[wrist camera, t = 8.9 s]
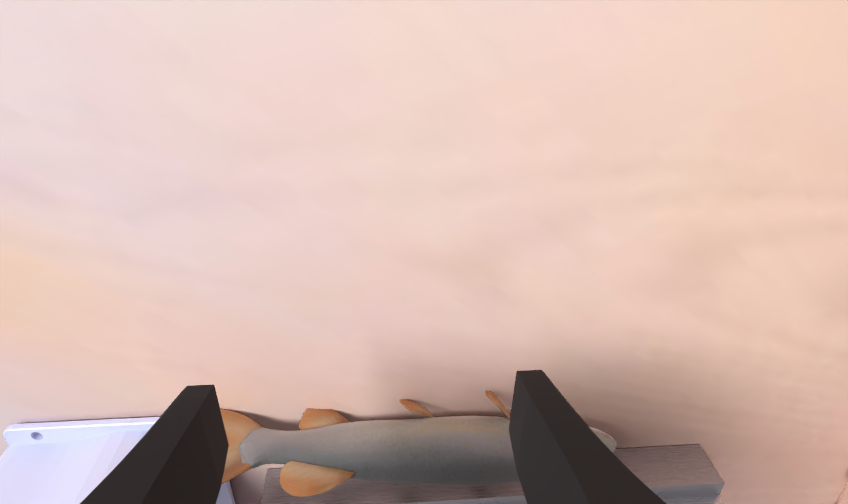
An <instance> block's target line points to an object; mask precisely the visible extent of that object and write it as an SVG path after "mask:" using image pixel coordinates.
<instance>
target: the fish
mask: <svg viewBox="0 0 848 504" xmlns="http://www.w3.org/2000/svg"><path fill="white" fill-rule="evenodd" d="M485 393H486V395H487V396H488V397H489V398H490V399H491V400H492V401H493V402H494V403H495V404H496V405H497V406H498V407H499V408H500V409H501V410H502V411H503V413H504V414H505V415H506V416H507V417H496V416H449V417H434V416H433V415H432V414H431V413H430V411H428V410H427V409H426V408H425V407H423V406H421V405H420V404H418V403H416V402H413V401H409V400H399V401H400V402H401V403H402V404H403V405H404V406H405V407H406V408H407V409H408V410H409V411H411V412H415V413H419V414H422V415H425V416H427V417H429V418H415V419H399V420H370V421H356V422H349V421H348V420H346V419H345V418H344V417H343V416H342V415H341V414H339V413H338V412H336V411H333V410H331V409H311V408H308V409H306V411H305V412H304V413H303V416H302V419H301V421H300V424H299V425H298V426H299V429H300V430H293V431H284V430H274V429H268V428H263V427H262V426H260V425H259V424H258V423H257V422H255V421H254V420H253V419H251V418H249V417H247V416H245V415H243V414H240V413H237V412H234V411H230V410H225V409H220V411H221V415H222V419H223V423H224V427H225V431H226V435H227V439H228V443H229V447H228V452H227V458H226V463H225V469H224V474H223V479H222V484H224V483H226V482H228V481H229V480H231V479H233V478H234V477H236V476H238V475H240V474H242V473H244V472H246V471H248V470H249V469H251V468H255V467H258V466H260V465H263V464H272V463H274V464H285V465H284V466H283V468H282V470H281V474H280V484H281V487H282V488H283V489H284V491H285V492H287V493H288V494H290V495H293V496H298V497H306V496H313V495H317V494H321V493H325V492H327V491H329V490H331V489H333V488H335V487H336V486H338V485H340V484H341V483H343V482H344V481H346V480H347V479H349V478H352V479H358V480H365V481H377V482H392V483H419V484H438V485H461V486H481V485H493V484H504V483H509V482H520V480H519V476H518V473H517V470H516V465H515V460H514V455H513V450H512V445H511V439H510V434H509V424H510V415H509V413H508V411H507V409H506V408H505V406H504V405H503V404H502V402H501V401H500V400H499V398H498V397H497V396H496V395H495V394H494V393H493V392H491V391H486V392H485ZM590 429H591V430H592V431H593V432H594V433H595V434H596V435H597V436H598V437H599V439H600V440H601V441H602V442H603V443H604V444H605V445H606V446H607V447H608V448H609V449H610V450H611V451H612V452H613V451H614V450H615V448H616V446H617V443H616V441H615V440H614V439H613V438H612V437H611V436H610V435H608V434H607V433H605V432H603V431H601V430H599V429H596V428H593V427H590ZM222 484H221V485H222Z"/></svg>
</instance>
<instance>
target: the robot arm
mask: <svg viewBox="0 0 848 504" xmlns="http://www.w3.org/2000/svg"><path fill="white" fill-rule="evenodd" d="M509 434H510V439H511V445H512V450H513V455H514V460H515V465H516V470H517V473H518V476H519V480H520V483H521V486H522V489H523V492H524V495H525V499H526V502H527V504H666V503H665V502H664V501H663V500H662V499H661V498H660V497H658V496H657V495H656V494H655V493H654V492H653V491H652V490H651V489H649V488H648V487H647V486H646V485H645V484H644V483H643V482H642V481H641V480H640V479H639V478H638V477H637V476H636V475H635V474H633V473H632V472H631V471H630V470H629V469H628V468H627V467H626V466H625V465H624V464H623V463H622V462H621V461H620V460H619V459H618V458H617V457H616V456H615V455H614V454H613V453H612V451H611V450H610V449H609V448H608V447H607V446H606V445H605V444H604V443H603V442H602V441H601V440H600V439H599V437H598V436H597V435H596V434H595V433H594V432H593V431H592V430H591V429H590V427H589V426H588V425H587V424H586V423H585V422H584V421H583V420H582V418H581V417H580V416H579V415H578V414H577V413H576V411H575V410H574V409H573V408H572V407H571V405H570V404H569V403H568V402H567V401H566V399H565V398H564V397H563V396H562V394H561V393H560V392H559V391H558V389H557V388H556V387H555V386H554V384H553V383H552V382H551V381H550V379H549V378H548V377H547V376H546V374H545V373H544V372H543V371H542V370H531V371H517V373H516V380H515V388H514V395H513V402H512V409H511V417H510V424H509ZM3 436H4V439H5V440H6V442H7V444H8V446H9V447H8V448H7V449H6V450H5V452H4V453H3V455H2V456H1V457H0V504H235V501H234V497H233V493H232V489H231V485H230V481H228V482H226V483H224V484H222V479H223V474H224V469H225V463H226V458H227V452H228V447H229V443H228V439H227V435H226V431H225V427H224V423H223V419H222V415H221V411H220V407H219V403H218V399H217V395H216V391H215V387H214V385H197V386H187V387H186V388H185V389H184V390H183V391H182V392H181V393H180V394H179V395H178V397H177V398H176V399H175V400H174V401H173V402H172V404H171V405H170V406H169V407H168V408H167V410H166V411H165V412H164V413H163V414H162V415H161V417H145V418H125V419H104V420H84V421H64V422H44V423H23V424H12V425H10V426H8V427H7V428H6V430H5V431H4V433H3ZM221 484H222V485H221Z"/></svg>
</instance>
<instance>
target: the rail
mask: <svg viewBox="0 0 848 504" xmlns="http://www.w3.org/2000/svg"><path fill="white" fill-rule="evenodd" d="M612 453H613V454H614V455H615V456H616V457H617V458H618V459H619V460H620V461H621V462H622V463H623V464H624V465H625V466H626V467H627V468H628V469H629V470H630V471H631V472H632V473H633V474H635V475H636V476H637V477H638V478H639V479H640V480H641V481H642V482H643V483H644V484H645V485H646V486H647V487H648V488H649V489H651V490H652V491H653V492H654V493H655V494H656V495H657V496H658V497H660V498H661V499H662V500H663V501H664V502H665V503H666V504H724V502H723V501H722V499H721V497H720V496H719V494H720V492H721V489H722V487H723V485H724V481H723V480H722V478H721V477H720V475H719V474H718V472H717V470H716V469H715V467H714V466H713V464H712V463H711V461H710V460H709V458H708V457H707V455H706V454H705V452H704V450H703V449H702V447H701V446H700V444H694V445H677V446H660V447H642V448H625V449H615V450H614V451H613V452H612ZM281 470H282V468H277V469H268V470H267V475H266V479H265V484H264V489H263V494H262V499H261V504H527V502H526V499H525V495H524V492H523V489H522V486H521V483H520V482H509V483H504V484H493V485H481V486H461V485H438V484H419V483H392V482H377V481H365V480H358V479H352V478H349V479H347V480H346V481H344V482H343V483H341V484H340V485H338V486H336V487H335V488H333V489H331V490H329V491H327V492H325V493H321V494H317V495H313V496H306V497H298V496H293V495H290V494H288V493H287V492H285V491H284V489H283V488H282V487H281V484H280V474H281Z"/></svg>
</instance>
